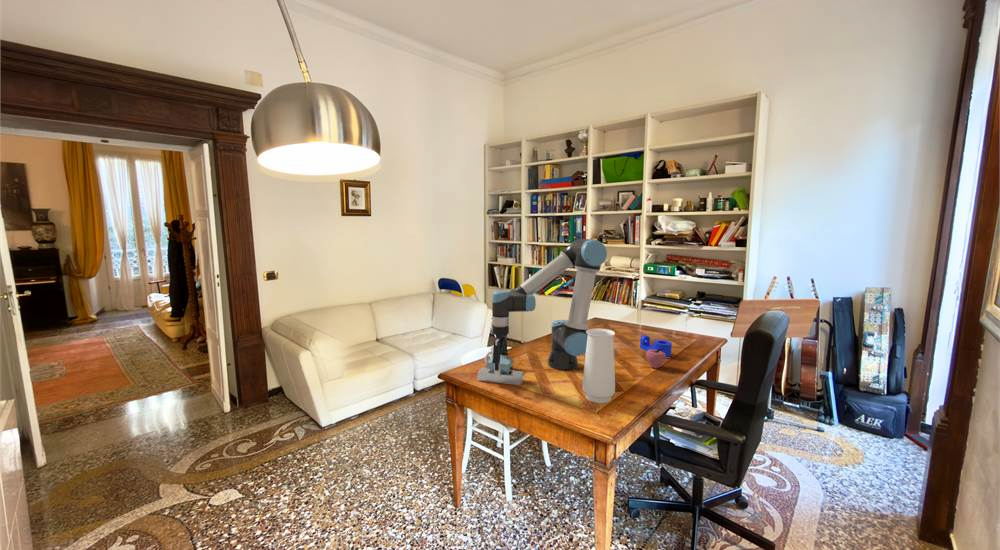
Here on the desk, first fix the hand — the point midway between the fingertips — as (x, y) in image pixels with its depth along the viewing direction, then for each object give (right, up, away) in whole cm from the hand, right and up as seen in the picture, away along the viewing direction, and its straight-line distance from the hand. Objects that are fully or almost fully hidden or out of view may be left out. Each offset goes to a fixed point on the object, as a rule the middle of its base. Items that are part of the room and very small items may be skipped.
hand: (500, 372), depth 183 cm
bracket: (+86, +1, +39) cm, 95 cm away
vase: (+41, -6, -18) cm, 45 cm away
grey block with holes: (0, -3, +1) cm, 3 cm away
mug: (-3, -2, +16) cm, 17 cm away
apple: (+78, -2, +17) cm, 79 cm away
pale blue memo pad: (0, 0, 0) cm, 0 cm away
